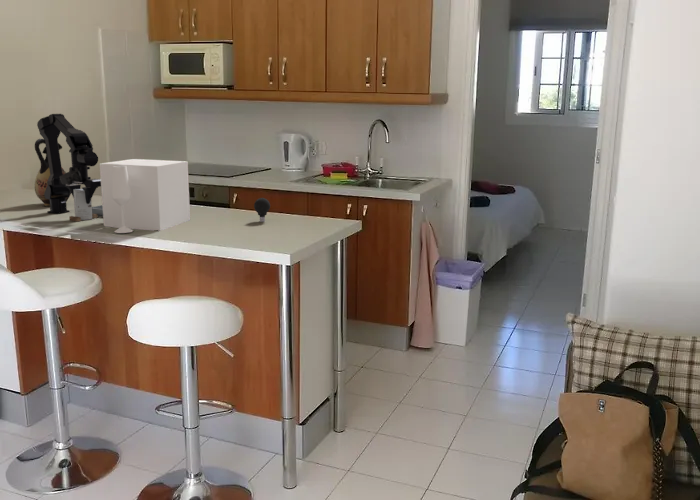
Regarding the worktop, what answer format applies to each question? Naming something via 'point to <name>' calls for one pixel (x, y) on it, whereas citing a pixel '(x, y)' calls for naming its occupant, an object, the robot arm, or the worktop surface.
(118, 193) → the champagne flute
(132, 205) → the cube
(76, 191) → the skincare box
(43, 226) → the worktop surface
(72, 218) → the brown wooden block
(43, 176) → the ceramic jug
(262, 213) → the light bulb
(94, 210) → the slate tray
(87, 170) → the robot arm
